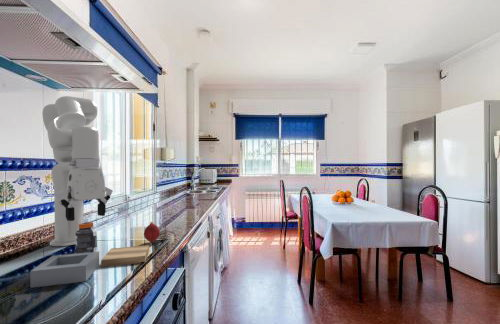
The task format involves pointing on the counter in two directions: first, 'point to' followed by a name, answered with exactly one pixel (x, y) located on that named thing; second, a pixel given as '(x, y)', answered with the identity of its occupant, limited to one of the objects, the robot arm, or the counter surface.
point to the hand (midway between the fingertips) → (86, 217)
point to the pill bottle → (86, 238)
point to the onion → (151, 232)
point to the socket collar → (64, 269)
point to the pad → (125, 256)
